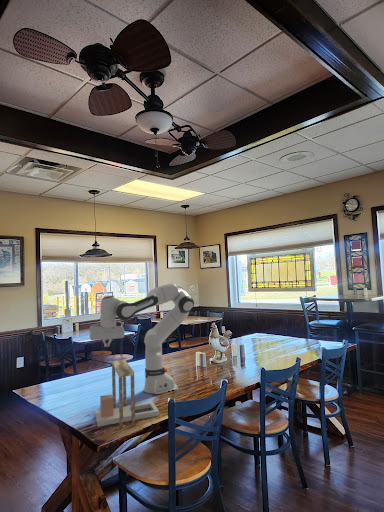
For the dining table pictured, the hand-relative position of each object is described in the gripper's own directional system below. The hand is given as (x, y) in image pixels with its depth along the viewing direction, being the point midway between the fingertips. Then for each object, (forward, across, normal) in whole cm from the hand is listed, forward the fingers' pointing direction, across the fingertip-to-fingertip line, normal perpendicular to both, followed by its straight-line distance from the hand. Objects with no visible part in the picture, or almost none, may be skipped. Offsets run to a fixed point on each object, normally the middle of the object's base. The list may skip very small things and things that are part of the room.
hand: (106, 346), depth 205 cm
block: (+30, -4, -23) cm, 38 cm away
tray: (+32, +6, -24) cm, 41 cm away
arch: (+32, +4, -24) cm, 41 cm away
